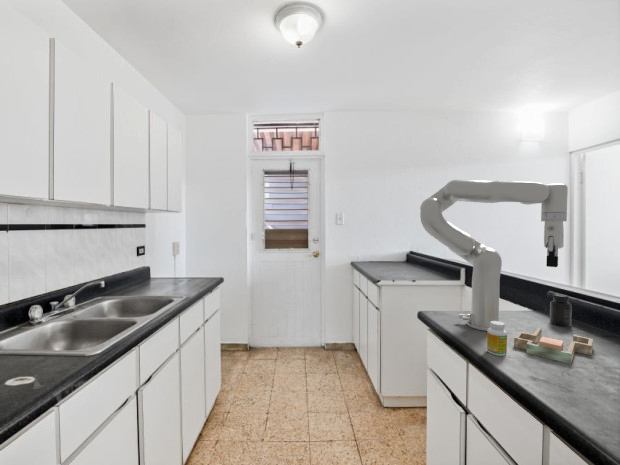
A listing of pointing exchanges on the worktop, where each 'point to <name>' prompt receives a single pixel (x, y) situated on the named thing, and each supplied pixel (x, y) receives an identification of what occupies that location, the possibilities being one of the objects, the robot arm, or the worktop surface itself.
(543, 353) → the trap lane
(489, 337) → the supplement bottle
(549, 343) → the terracotta block
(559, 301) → the supplement bottle
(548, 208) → the robot arm
